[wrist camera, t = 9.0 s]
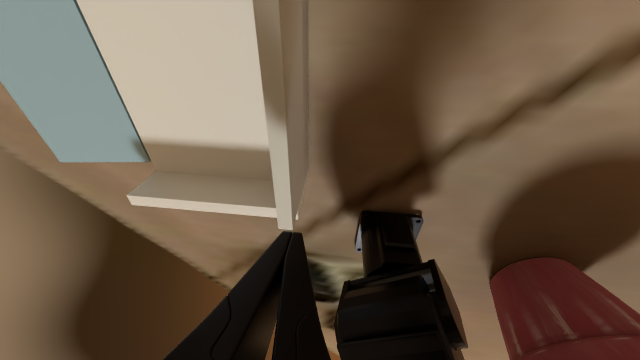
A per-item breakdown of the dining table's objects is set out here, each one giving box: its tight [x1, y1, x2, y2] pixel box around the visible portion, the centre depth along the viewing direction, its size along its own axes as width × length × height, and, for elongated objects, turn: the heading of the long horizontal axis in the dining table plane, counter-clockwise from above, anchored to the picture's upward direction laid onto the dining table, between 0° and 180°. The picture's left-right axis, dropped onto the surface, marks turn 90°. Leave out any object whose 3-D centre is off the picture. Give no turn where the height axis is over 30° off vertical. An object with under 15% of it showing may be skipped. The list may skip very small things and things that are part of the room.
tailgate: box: [0, 0, 151, 162], centre depth 16 cm, size 16×2×8 cm
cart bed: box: [76, 0, 309, 230], centre depth 14 cm, size 20×14×8 cm
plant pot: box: [490, 257, 640, 360], centre depth 23 cm, size 14×14×13 cm
